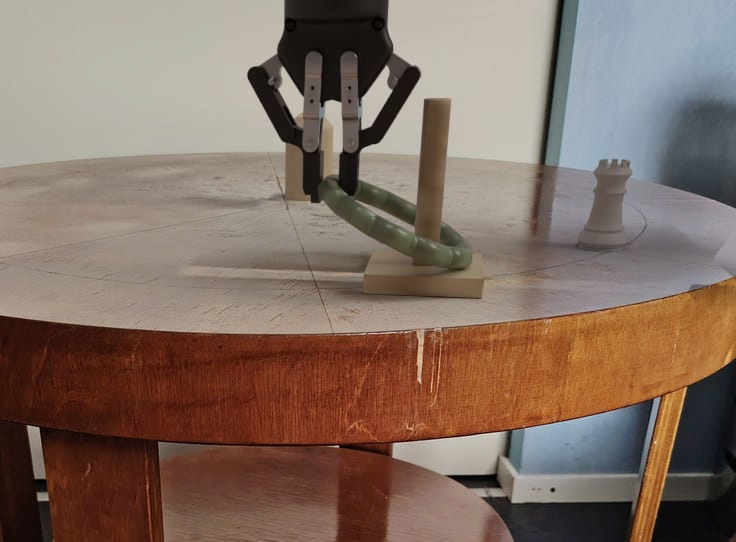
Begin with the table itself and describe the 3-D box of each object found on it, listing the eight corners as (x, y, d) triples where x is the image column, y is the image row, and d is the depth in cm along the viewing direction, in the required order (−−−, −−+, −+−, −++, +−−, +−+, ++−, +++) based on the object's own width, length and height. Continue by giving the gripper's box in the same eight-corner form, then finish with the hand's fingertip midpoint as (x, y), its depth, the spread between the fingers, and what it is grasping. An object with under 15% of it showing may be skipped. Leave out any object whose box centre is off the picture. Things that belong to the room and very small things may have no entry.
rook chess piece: (619, 262, 78) (636, 164, 74) (567, 257, 80) (581, 161, 76) (630, 253, 81) (647, 159, 78) (580, 248, 83) (594, 156, 80)
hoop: (465, 250, 77) (475, 233, 76) (465, 288, 66) (477, 268, 65) (328, 180, 77) (336, 162, 76) (304, 206, 65) (313, 185, 64)
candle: (277, 202, 109) (278, 112, 104) (319, 199, 111) (321, 110, 106) (296, 209, 104) (297, 115, 100) (339, 205, 106) (342, 113, 101)
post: (479, 271, 76) (498, 95, 69) (481, 298, 68) (502, 102, 62) (372, 267, 77) (381, 95, 71) (362, 293, 69) (371, 102, 63)
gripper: (230, -58, 61) (235, 207, 69) (435, -64, 59) (415, 212, 67) (253, -48, 68) (255, 193, 76) (438, -53, 65) (420, 197, 73)
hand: (330, 201), depth 71 cm, fingers closed on hoop
